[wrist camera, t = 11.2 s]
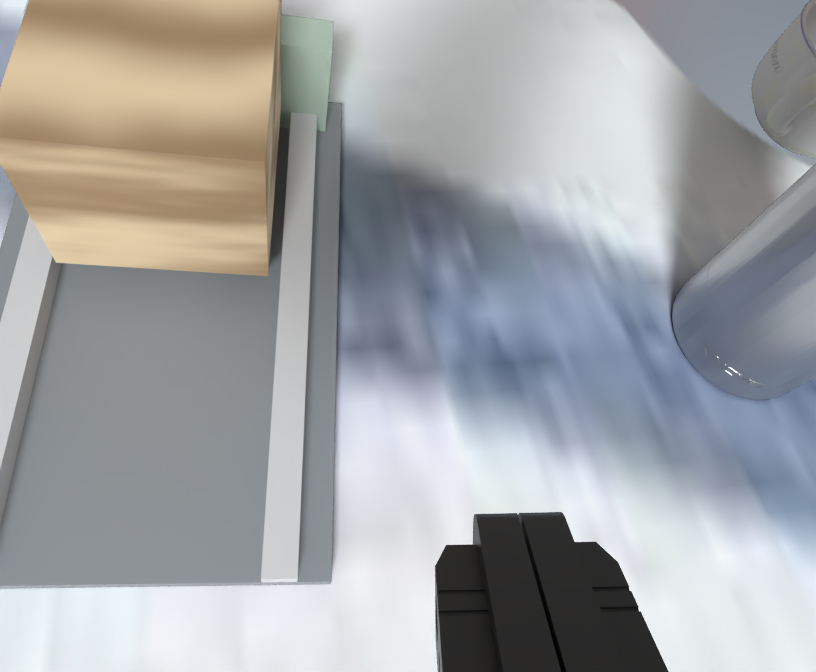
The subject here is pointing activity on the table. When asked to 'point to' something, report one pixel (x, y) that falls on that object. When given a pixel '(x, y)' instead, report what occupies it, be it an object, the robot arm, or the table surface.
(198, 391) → the roller track
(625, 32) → the table surface
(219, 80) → the wood grain cube
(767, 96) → the teacup
